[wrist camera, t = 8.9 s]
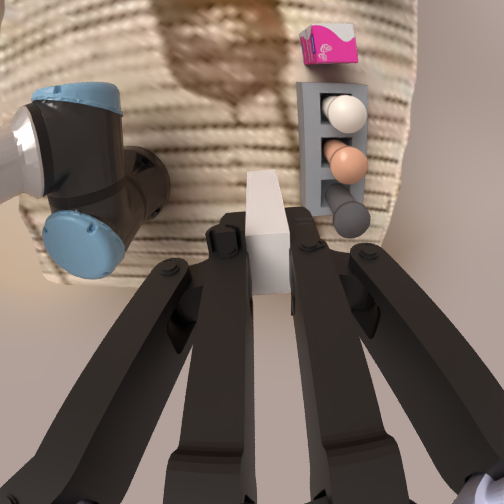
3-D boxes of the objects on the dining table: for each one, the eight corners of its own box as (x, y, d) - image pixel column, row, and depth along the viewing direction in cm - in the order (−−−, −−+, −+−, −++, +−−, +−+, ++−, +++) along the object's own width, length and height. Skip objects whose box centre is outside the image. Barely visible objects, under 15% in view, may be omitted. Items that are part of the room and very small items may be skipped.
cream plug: (315, 121, 42) (329, 133, 35) (314, 90, 39) (328, 95, 32) (346, 121, 42) (366, 133, 35) (345, 91, 39) (366, 96, 32)
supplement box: (297, 33, 36) (311, 22, 27) (333, 32, 35) (355, 23, 26) (302, 65, 39) (317, 63, 30) (337, 64, 39) (361, 63, 29)
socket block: (300, 201, 53) (305, 216, 48) (296, 82, 41) (302, 83, 36) (351, 198, 53) (361, 213, 48) (354, 83, 40) (367, 85, 35)
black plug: (320, 209, 47) (333, 239, 40) (321, 180, 44) (335, 205, 37) (350, 208, 47) (368, 237, 39) (352, 179, 44) (372, 204, 36)
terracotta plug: (317, 164, 45) (331, 184, 38) (317, 133, 42) (331, 148, 35) (347, 163, 45) (366, 184, 38) (348, 133, 42) (368, 148, 35)
